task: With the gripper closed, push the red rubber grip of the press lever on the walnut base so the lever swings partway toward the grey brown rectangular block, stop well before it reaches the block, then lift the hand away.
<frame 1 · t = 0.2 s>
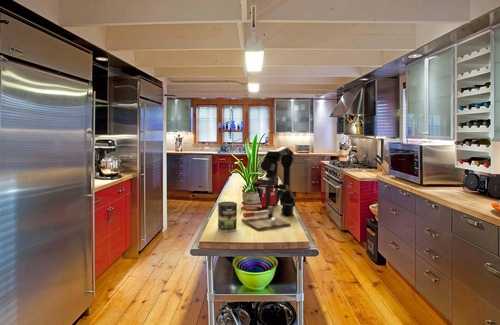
hand: (268, 202, 167), 15 cm above the counter, tool pointing down, fingers open, 9 cm apart
grey brown rectangular block: (273, 226, 175), resting on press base
cleaning product box: (266, 206, 223), on the counter
coffee can: (227, 229, 170), on the counter
press lever: (258, 212, 186), point 5 cm above the counter, hinge at 0.0°
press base: (265, 223, 181), on the counter
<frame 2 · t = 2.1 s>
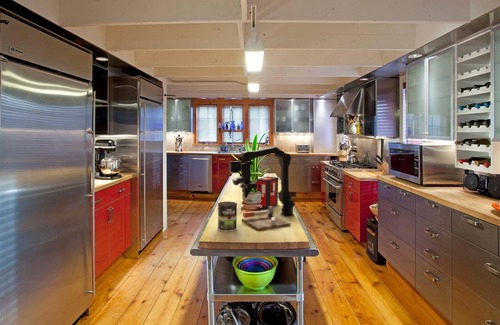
hand: (245, 197, 189), 13 cm above the counter, tool pointing down, fingers closed
nothing on the counter moved.
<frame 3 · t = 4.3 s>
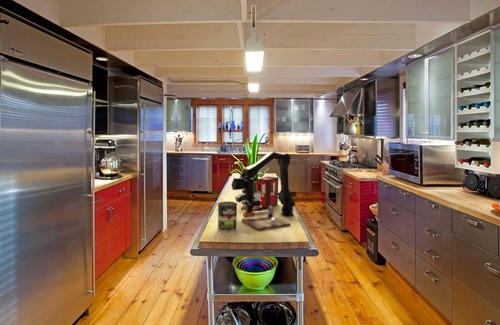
hand: (248, 214, 186), 4 cm above the counter, tool pointing down, fingers closed
press lever: (258, 212, 186), point 5 cm above the counter, hinge at 0.1°, touching gripper
everything else where it was.
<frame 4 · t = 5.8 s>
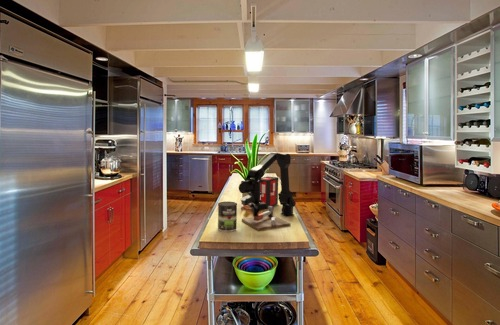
hand: (254, 217, 180), 4 cm above the counter, tool pointing down, fingers closed
press lever: (264, 214, 183), point 5 cm above the counter, hinge at 31.7°, touching gripper
everything else where it was.
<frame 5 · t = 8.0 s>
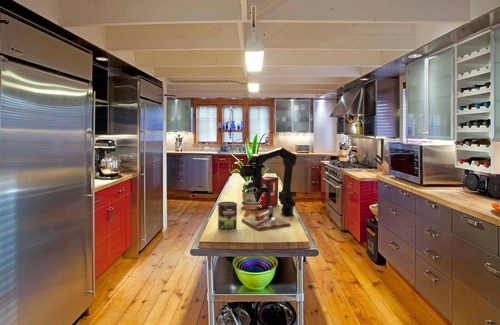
hand: (257, 201, 185), 11 cm above the counter, tool pointing down, fingers closed
press lever: (264, 214, 183), point 5 cm above the counter, hinge at 34.6°
everything else where it was.
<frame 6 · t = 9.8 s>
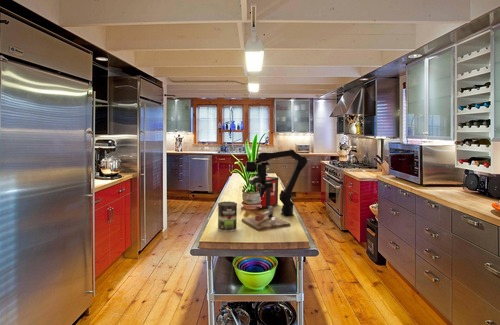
hand: (261, 196, 196), 12 cm above the counter, tool pointing down, fingers closed
nothing on the counter moved.
at the end: press lever at +35° (first picture: +0°) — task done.
